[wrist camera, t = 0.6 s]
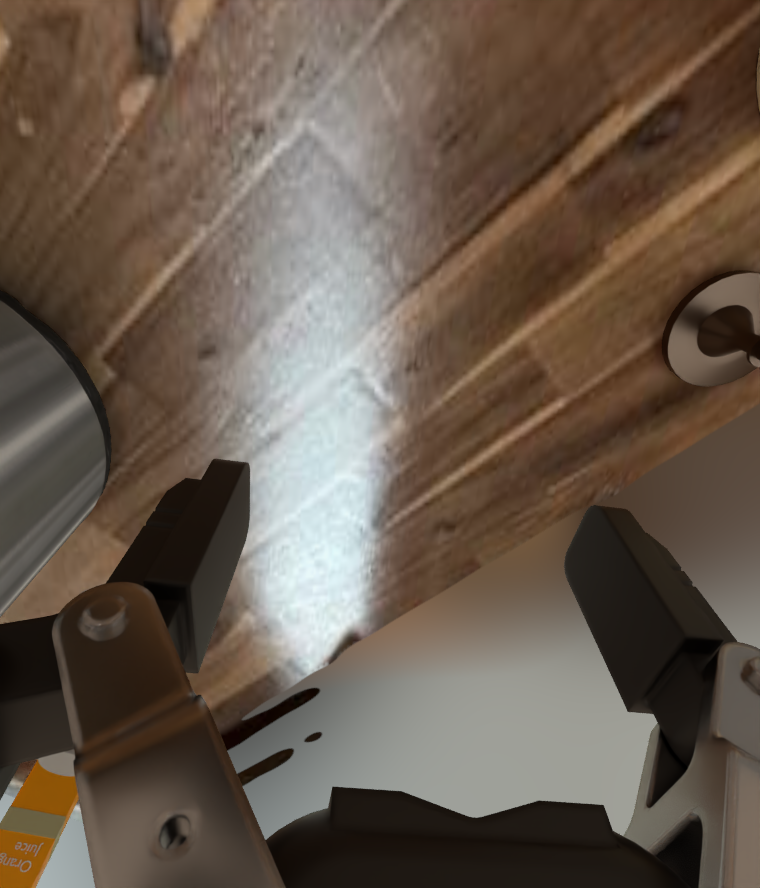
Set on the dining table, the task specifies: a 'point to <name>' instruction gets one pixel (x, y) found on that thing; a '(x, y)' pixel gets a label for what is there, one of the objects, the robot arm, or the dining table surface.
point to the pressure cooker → (44, 446)
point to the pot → (758, 81)
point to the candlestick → (716, 331)
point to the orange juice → (34, 826)
